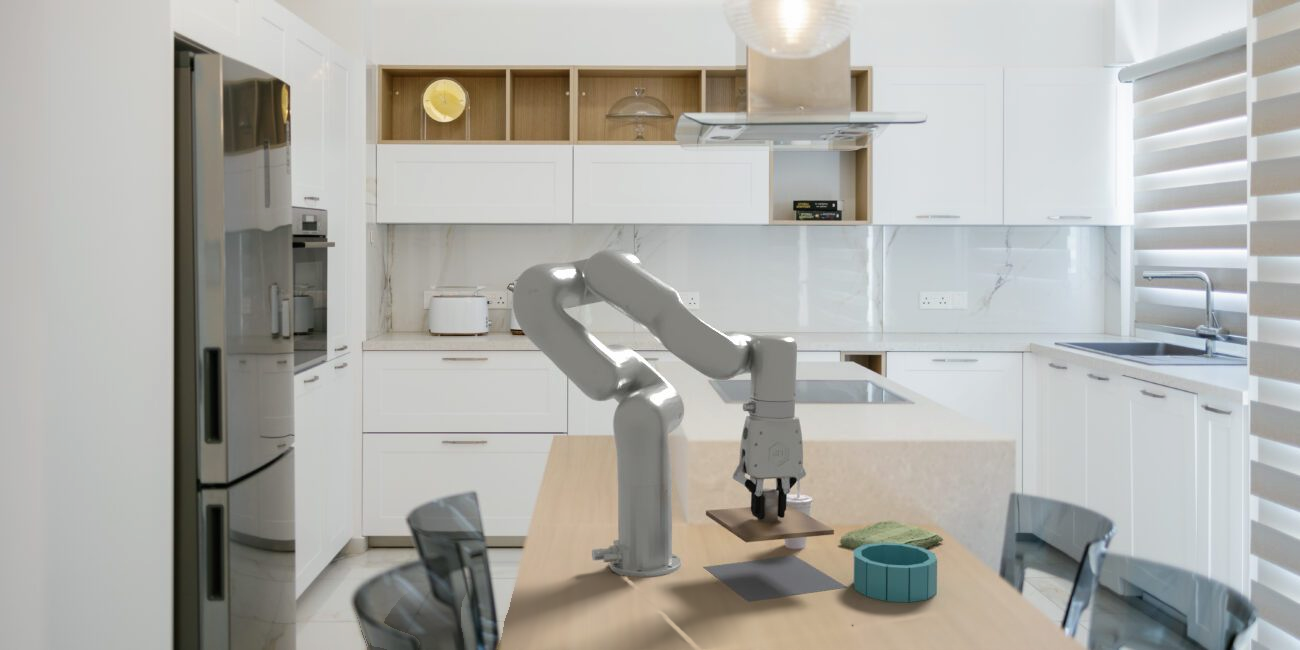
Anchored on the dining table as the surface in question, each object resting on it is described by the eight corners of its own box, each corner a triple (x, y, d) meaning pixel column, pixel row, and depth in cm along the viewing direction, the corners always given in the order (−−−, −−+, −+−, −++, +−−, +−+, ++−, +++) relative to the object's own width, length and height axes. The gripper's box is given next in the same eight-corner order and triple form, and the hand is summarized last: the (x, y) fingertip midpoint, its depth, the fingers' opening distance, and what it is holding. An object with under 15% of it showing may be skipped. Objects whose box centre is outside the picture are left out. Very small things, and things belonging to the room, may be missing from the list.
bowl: (883, 609, 147) (883, 571, 146) (838, 582, 159) (839, 547, 158) (952, 598, 151) (953, 561, 151) (904, 573, 163) (904, 539, 163)
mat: (748, 604, 149) (748, 601, 149) (703, 569, 166) (703, 567, 166) (847, 590, 155) (847, 587, 155) (794, 557, 172) (794, 555, 172)
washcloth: (946, 545, 181) (946, 528, 181) (893, 565, 169) (893, 547, 169) (888, 530, 191) (888, 514, 190) (834, 548, 179) (834, 532, 179)
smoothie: (812, 554, 174) (812, 479, 173) (777, 552, 175) (777, 478, 174) (813, 544, 180) (813, 471, 179) (779, 542, 182) (779, 470, 181)
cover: (745, 542, 150) (747, 506, 150) (705, 514, 165) (706, 482, 165) (833, 534, 156) (835, 499, 155) (787, 508, 170) (788, 477, 170)
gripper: (737, 414, 152) (733, 526, 154) (826, 411, 158) (822, 519, 159) (718, 407, 159) (714, 513, 161) (804, 404, 165) (800, 507, 167)
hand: (768, 515), depth 160 cm, fingers closed on cover, 3 cm apart
